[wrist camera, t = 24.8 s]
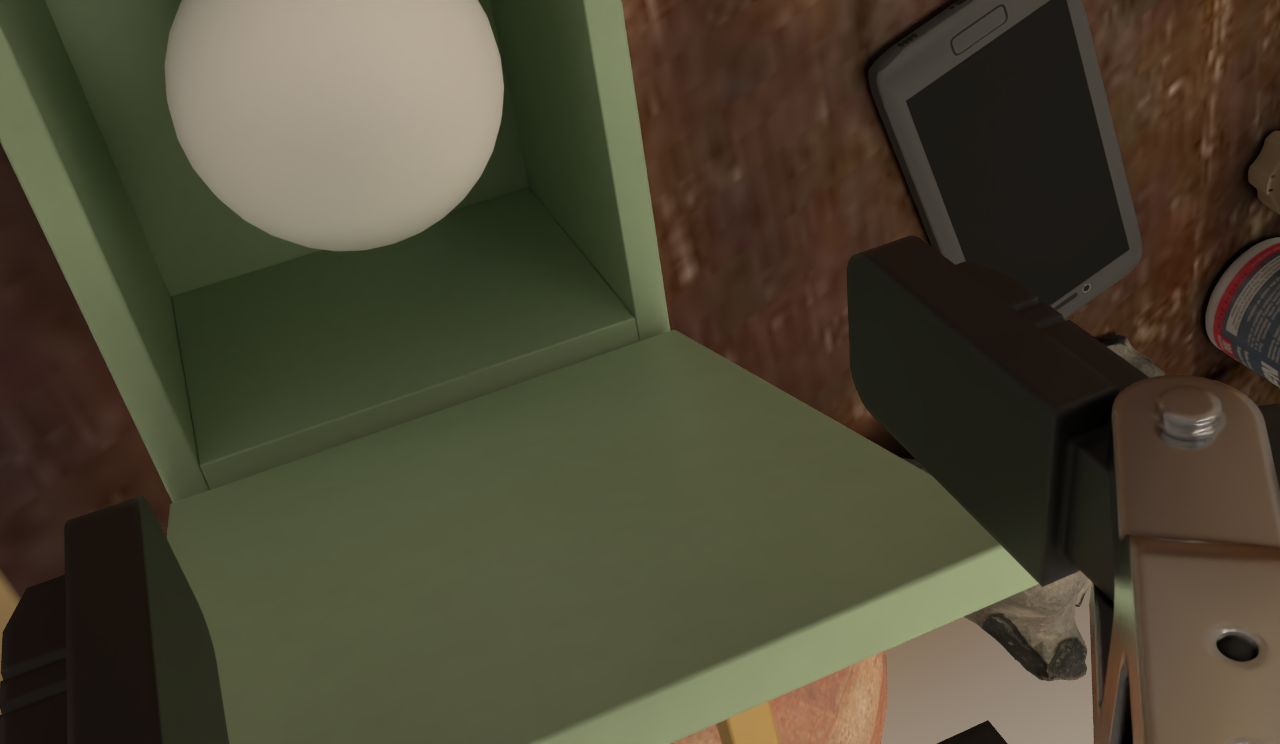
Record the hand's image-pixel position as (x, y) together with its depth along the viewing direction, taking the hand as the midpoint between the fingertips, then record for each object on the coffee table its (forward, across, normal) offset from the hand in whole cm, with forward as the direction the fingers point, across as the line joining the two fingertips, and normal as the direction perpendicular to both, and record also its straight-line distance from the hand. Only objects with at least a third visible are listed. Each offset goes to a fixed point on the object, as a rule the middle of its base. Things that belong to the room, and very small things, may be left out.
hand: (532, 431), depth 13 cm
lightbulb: (+20, 0, 0) cm, 20 cm away
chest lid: (+5, 0, +5) cm, 7 cm away
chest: (+21, 0, +2) cm, 21 cm away
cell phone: (+21, -22, +12) cm, 32 cm away
